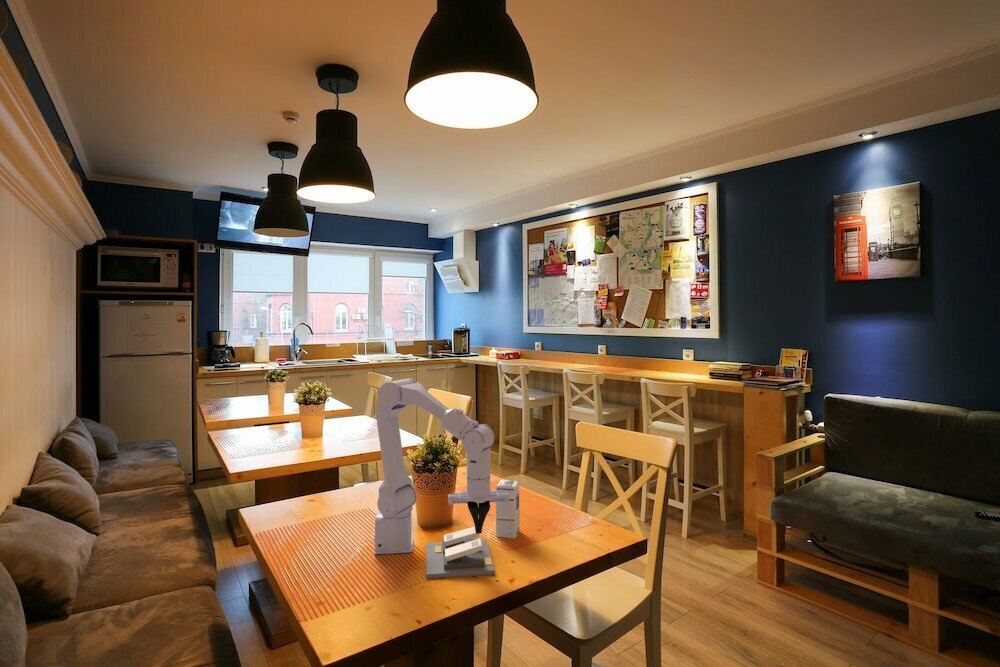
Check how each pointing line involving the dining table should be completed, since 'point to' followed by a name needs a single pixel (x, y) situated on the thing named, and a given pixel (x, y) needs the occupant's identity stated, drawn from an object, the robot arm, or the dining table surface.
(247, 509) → the dining table surface
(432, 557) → the switch board
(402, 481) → the robot arm
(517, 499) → the syrup box
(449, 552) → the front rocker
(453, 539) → the back rocker
